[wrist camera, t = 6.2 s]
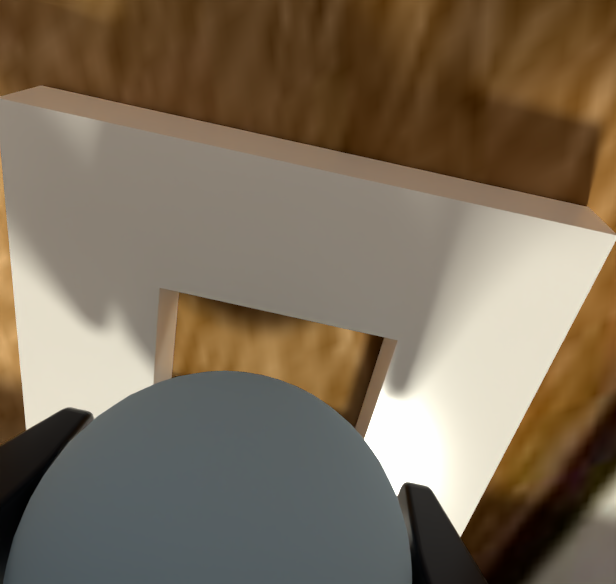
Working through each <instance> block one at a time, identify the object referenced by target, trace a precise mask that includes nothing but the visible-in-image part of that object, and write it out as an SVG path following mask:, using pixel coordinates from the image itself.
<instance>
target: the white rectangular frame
mask: <svg viewBox="0 0 616 584" xmlns="http://www.w3.org/2000/svg"><path fill="white" fill-rule="evenodd" d="M0 148H1V159H2V170H3V181H4V192H5V203H6V214H7V225H8V236H9V247H10V258H11V269H12V280H13V291H14V302H15V313H16V324H17V335H18V346H19V357H20V368H21V379H22V390H23V401H24V412H25V423H26V430H27V429H29V428H31V427H32V426H34V425H36V424H38V423H39V422H41V421H43V420H44V419H46V418H48V417H50V416H51V415H53V414H55V413H56V412H58V411H60V410H62V409H64V408H67V407H72V408H77V409H81V410H86V411H89V412H91V413H92V414H93V416H94V419H95V418H96V417H97V416H99V415H100V414H102V413H103V412H105V411H106V410H108V409H109V408H111V407H112V406H114V405H115V404H117V403H118V402H120V401H121V400H123V399H124V398H126V397H128V396H129V395H131V394H133V393H136V392H138V391H140V390H142V389H144V388H147V387H149V386H151V385H154V384H156V383H159V382H161V381H164V380H168V379H171V378H172V368H173V356H174V345H175V333H176V321H177V310H178V298H179V292H181V293H186V294H190V295H195V296H199V297H204V298H208V299H213V300H217V301H222V302H227V303H231V304H236V305H240V306H245V307H249V308H254V309H258V310H263V311H267V312H272V313H276V314H281V315H285V316H290V317H294V318H299V319H303V320H308V321H312V322H317V323H322V324H326V325H331V326H335V327H340V328H344V329H349V330H353V331H358V332H362V333H367V334H371V335H376V336H380V337H384V340H383V343H382V346H381V349H380V352H379V355H378V358H377V362H376V365H375V368H374V371H373V374H372V377H371V380H370V383H369V387H368V390H367V393H366V396H365V399H364V402H363V405H362V408H361V412H360V415H359V418H358V421H357V424H356V427H355V429H356V431H357V432H358V433H359V434H360V435H361V436H362V437H363V439H364V440H365V441H366V443H367V444H368V445H369V446H370V448H371V449H372V451H373V452H374V454H375V455H376V457H377V458H378V459H379V461H380V462H381V464H382V466H383V468H384V470H385V472H386V474H387V476H388V478H389V480H390V482H391V484H392V487H393V489H394V491H395V493H396V495H398V493H399V490H400V488H401V486H402V485H403V484H404V483H405V482H411V483H416V484H420V485H425V486H428V487H429V488H430V489H431V490H432V491H433V493H434V494H435V496H436V498H437V499H438V501H439V503H440V504H441V506H442V508H443V509H444V511H445V513H446V514H447V516H448V518H449V519H450V521H451V523H452V524H453V526H454V528H455V529H456V531H457V533H458V534H459V536H460V537H461V535H462V533H463V531H464V529H465V528H466V526H467V524H468V522H469V520H470V518H471V516H472V514H473V512H474V510H475V508H476V507H477V505H478V503H479V501H480V499H481V497H482V495H483V493H484V491H485V489H486V487H487V486H488V484H489V482H490V480H491V478H492V476H493V474H494V472H495V470H496V468H497V466H498V465H499V463H500V461H501V459H502V457H503V455H504V453H505V451H506V449H507V447H508V445H509V443H510V442H511V440H512V438H513V436H514V434H515V432H516V430H517V428H518V426H519V424H520V422H521V421H522V419H523V417H524V415H525V413H526V411H527V409H528V407H529V405H530V403H531V401H532V400H533V398H534V396H535V394H536V392H537V390H538V388H539V386H540V384H541V382H542V380H543V379H544V377H545V375H546V373H547V371H548V369H549V367H550V365H551V363H552V361H553V359H554V358H555V356H556V354H557V352H558V350H559V348H560V346H561V344H562V342H563V340H564V338H565V337H566V335H567V333H568V331H569V329H570V327H571V325H572V323H573V321H574V319H575V317H576V316H577V314H578V312H579V310H580V308H581V306H582V304H583V302H584V300H585V298H586V296H587V295H588V293H589V291H590V289H591V287H592V285H593V283H594V281H595V279H596V277H597V275H598V274H599V272H600V270H601V268H602V266H603V264H604V262H605V260H606V258H607V256H608V254H609V253H610V251H611V249H612V247H613V245H614V243H615V241H616V233H615V232H614V231H613V230H612V229H611V228H610V227H609V226H608V225H606V224H605V223H604V222H603V221H602V220H601V219H600V218H599V217H598V216H597V215H596V214H595V213H594V212H593V211H592V210H591V209H590V208H589V207H586V206H581V205H577V204H573V203H568V202H564V201H559V200H555V199H550V198H546V197H541V196H537V195H532V194H528V193H523V192H519V191H514V190H510V189H505V188H501V187H496V186H492V185H487V184H483V183H478V182H474V181H469V180H465V179H460V178H456V177H451V176H447V175H442V174H438V173H433V172H429V171H424V170H420V169H415V168H411V167H406V166H402V165H397V164H393V163H388V162H384V161H379V160H375V159H370V158H366V157H361V156H357V155H352V154H348V153H343V152H339V151H334V150H330V149H325V148H321V147H316V146H312V145H307V144H303V143H298V142H294V141H289V140H285V139H280V138H276V137H271V136H267V135H262V134H258V133H253V132H249V131H244V130H240V129H235V128H231V127H226V126H222V125H217V124H213V123H208V122H204V121H199V120H195V119H190V118H186V117H181V116H177V115H172V114H168V113H163V112H159V111H154V110H150V109H145V108H141V107H136V106H132V105H127V104H123V103H118V102H114V101H109V100H105V99H100V98H96V97H91V96H87V95H82V94H78V93H73V92H69V91H64V90H60V89H55V88H51V87H46V86H42V85H41V86H37V87H34V88H30V89H26V90H22V91H19V92H15V93H11V94H7V95H4V96H0Z"/></svg>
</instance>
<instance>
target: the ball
mask: <svg viewBox="0 0 616 584" xmlns="http://www.w3.org/2000/svg"><path fill="white" fill-rule="evenodd" d="M3 584H412V564H411V553H410V546H409V539H408V533H407V529H406V525H405V522H404V518H403V514H402V511H401V508H400V505H399V501H398V498H397V495H396V493H395V491H394V489H393V487H392V484H391V482H390V480H389V478H388V476H387V474H386V472H385V470H384V468H383V466H382V464H381V462H380V461H379V459H378V458H377V457H376V455H375V454H374V452H373V451H372V449H371V448H370V446H369V445H368V444H367V443H366V441H365V440H364V439H363V437H362V436H361V435H360V434H359V433H358V432H357V431H356V429H355V428H354V427H353V426H352V425H351V424H350V423H349V422H348V421H347V420H346V419H344V418H343V417H342V416H341V415H340V414H339V413H337V412H336V411H335V410H334V409H333V408H331V407H330V406H329V405H327V404H326V403H324V402H323V401H321V400H320V399H318V398H317V397H315V396H314V395H312V394H310V393H308V392H306V391H304V390H303V389H301V388H299V387H297V386H294V385H292V384H289V383H286V382H284V381H281V380H278V379H275V378H271V377H267V376H264V375H259V374H253V373H247V372H236V371H211V372H202V373H196V374H190V375H184V376H178V377H175V378H171V379H168V380H164V381H161V382H159V383H156V384H154V385H151V386H149V387H147V388H144V389H142V390H140V391H138V392H136V393H133V394H131V395H129V396H128V397H126V398H124V399H123V400H121V401H120V402H118V403H117V404H115V405H114V406H112V407H111V408H109V409H108V410H106V411H105V412H103V413H102V414H100V415H99V416H97V417H96V418H95V419H94V420H93V421H92V422H91V423H90V424H89V425H87V426H86V427H85V428H84V429H83V430H82V431H81V432H80V433H79V434H78V435H77V436H76V437H75V438H73V439H72V440H71V441H70V442H69V443H68V445H67V446H66V447H65V448H64V450H63V451H62V452H61V453H60V455H59V456H58V457H57V458H56V460H55V461H54V462H53V464H52V465H51V466H50V468H49V469H48V470H47V472H46V473H45V474H44V476H43V477H42V479H41V481H40V482H39V484H38V486H37V488H36V489H35V491H34V493H33V495H32V496H31V498H30V500H29V502H28V504H27V507H26V509H25V511H24V513H23V516H22V518H21V521H20V523H19V526H18V528H17V530H16V533H15V535H14V538H13V541H12V545H11V549H10V553H9V557H8V561H7V565H6V570H5V575H4V580H3Z"/></svg>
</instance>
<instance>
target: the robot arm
mask: <svg viewBox="0 0 616 584" xmlns="http://www.w3.org/2000/svg"><path fill="white" fill-rule="evenodd" d="M93 420H94V416H93V414H92V413H91V412H89V411H86V410H81V409H77V408H72V407H67V408H64V409H62V410H60V411H58V412H56V413H55V414H53V415H51V416H50V417H48V418H46V419H44V420H43V421H41V422H39V423H38V424H36V425H34V426H32V427H31V428H29V429H27V430H26V431H24V432H22V433H20V434H19V435H17V436H15V437H14V438H12V439H10V440H8V441H7V442H5V443H3V444H2V445H0V584H3V580H4V575H5V570H6V565H7V561H8V557H9V553H10V549H11V545H12V541H13V538H14V535H15V533H16V530H17V528H18V526H19V523H20V521H21V518H22V516H23V513H24V511H25V509H26V507H27V504H28V502H29V500H30V498H31V496H32V495H33V493H34V491H35V489H36V488H37V486H38V484H39V482H40V481H41V479H42V477H43V476H44V474H45V473H46V472H47V470H48V469H49V468H50V466H51V465H52V464H53V462H54V461H55V460H56V458H57V457H58V456H59V455H60V453H61V452H62V451H63V450H64V448H65V447H66V446H67V445H68V443H69V442H70V441H71V440H72V439H73V438H75V437H76V436H77V435H78V434H79V433H80V432H81V431H82V430H83V429H84V428H85V427H86V426H87V425H89V424H90V423H91V422H92V421H93ZM397 498H398V501H399V505H400V508H401V511H402V514H403V518H404V522H405V525H406V529H407V533H408V539H409V546H410V553H411V564H412V584H488V583H487V581H486V579H485V578H484V576H483V574H482V573H481V571H480V569H479V568H478V566H477V564H476V563H475V561H474V559H473V558H472V556H471V554H470V553H469V551H468V549H467V548H466V546H465V544H464V543H463V541H462V539H461V538H460V536H459V534H458V533H457V531H456V529H455V528H454V526H453V524H452V523H451V521H450V519H449V518H448V516H447V514H446V513H445V511H444V509H443V508H442V506H441V504H440V503H439V501H438V499H437V498H436V496H435V494H434V493H433V491H432V490H431V489H430V488H429V487H428V486H425V485H420V484H416V483H411V482H405V483H404V484H403V485H402V486H401V488H400V490H399V493H398V495H397Z"/></svg>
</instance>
